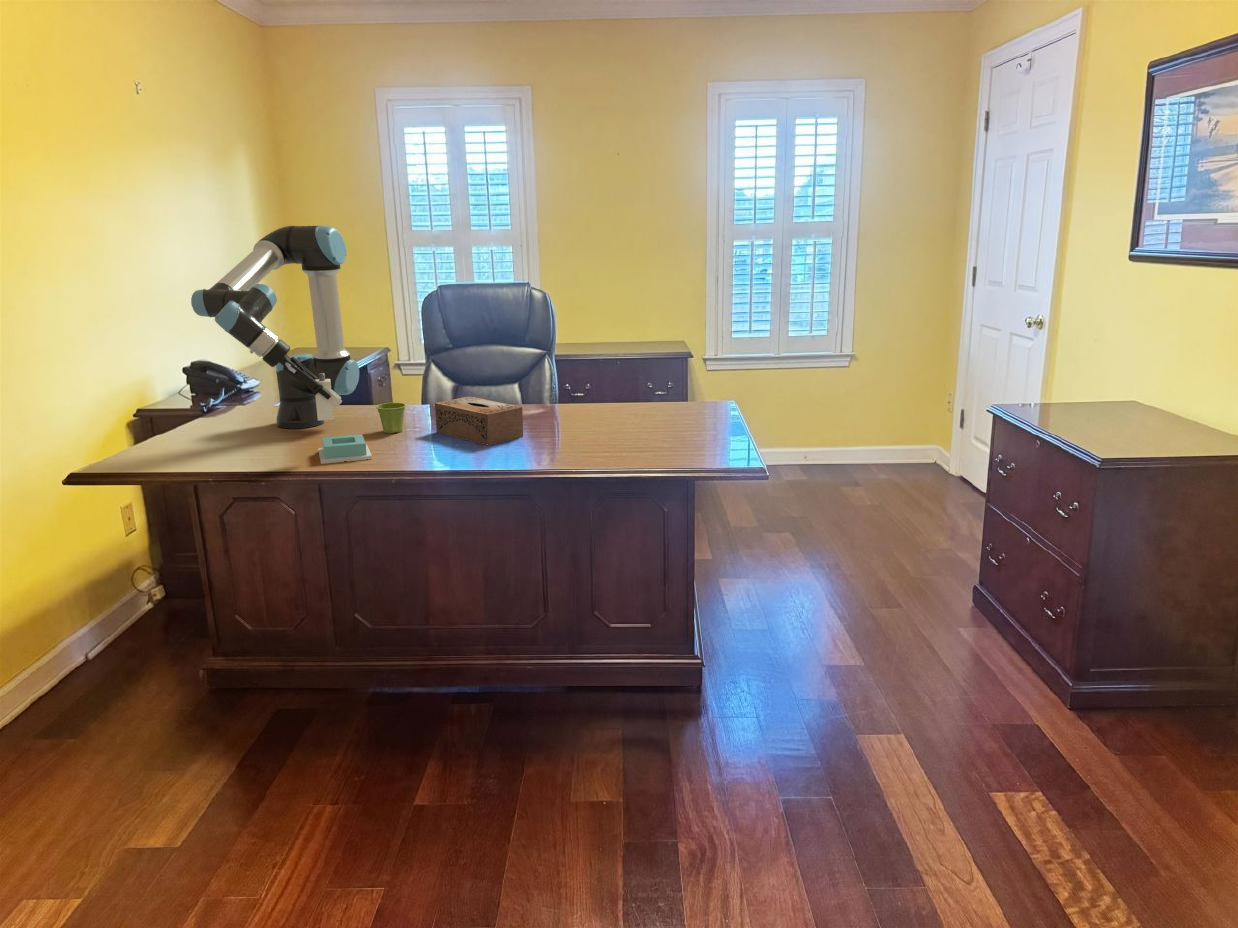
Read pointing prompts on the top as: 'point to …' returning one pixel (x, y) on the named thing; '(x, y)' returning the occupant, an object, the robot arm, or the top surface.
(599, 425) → the top surface
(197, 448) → the top surface
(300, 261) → the robot arm
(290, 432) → the top surface
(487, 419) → the tissue box cover
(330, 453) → the socket
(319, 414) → the plug
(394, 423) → the plant pot
